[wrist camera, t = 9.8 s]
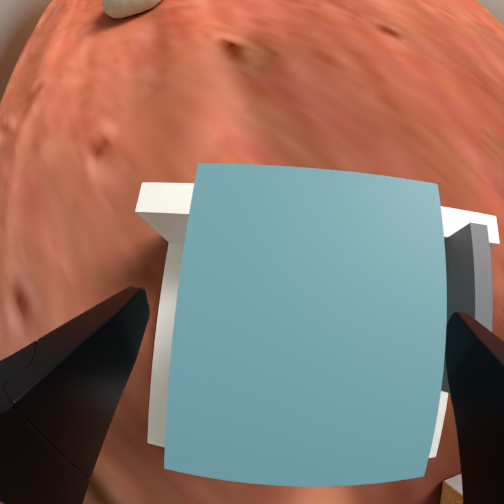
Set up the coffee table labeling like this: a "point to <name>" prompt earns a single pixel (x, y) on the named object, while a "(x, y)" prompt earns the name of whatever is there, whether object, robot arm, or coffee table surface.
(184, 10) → the coffee table surface
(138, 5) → the sea urchin shell
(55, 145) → the coffee table surface
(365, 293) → the teal rectangular block
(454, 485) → the small box
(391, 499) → the coffee table surface
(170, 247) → the shelf
